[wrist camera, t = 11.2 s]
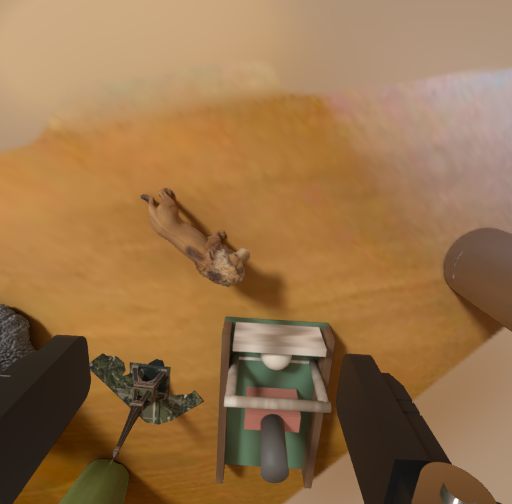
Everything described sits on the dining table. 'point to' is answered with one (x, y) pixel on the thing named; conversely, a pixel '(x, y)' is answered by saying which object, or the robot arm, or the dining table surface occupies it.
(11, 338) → the koala plush
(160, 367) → the eiffel tower figurine
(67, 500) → the plant pot
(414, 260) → the dining table surface
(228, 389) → the pitch
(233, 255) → the lion figurine
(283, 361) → the ball
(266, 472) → the striker
